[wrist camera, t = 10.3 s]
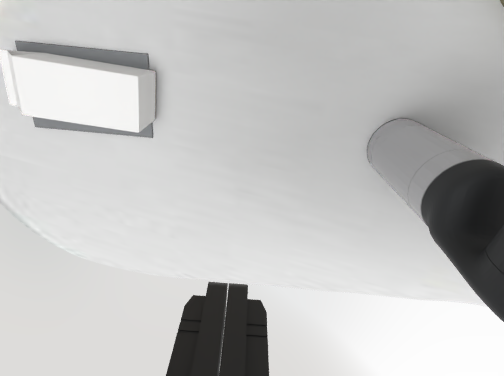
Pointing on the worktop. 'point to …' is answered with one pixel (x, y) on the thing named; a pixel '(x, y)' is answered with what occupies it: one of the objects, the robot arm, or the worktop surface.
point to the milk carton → (79, 90)
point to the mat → (95, 55)
